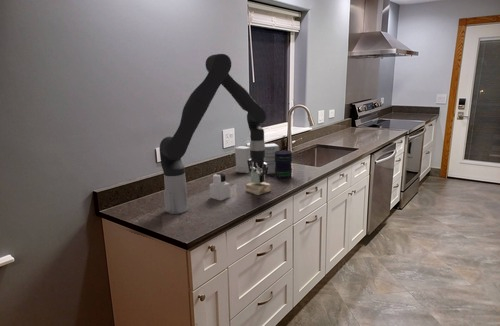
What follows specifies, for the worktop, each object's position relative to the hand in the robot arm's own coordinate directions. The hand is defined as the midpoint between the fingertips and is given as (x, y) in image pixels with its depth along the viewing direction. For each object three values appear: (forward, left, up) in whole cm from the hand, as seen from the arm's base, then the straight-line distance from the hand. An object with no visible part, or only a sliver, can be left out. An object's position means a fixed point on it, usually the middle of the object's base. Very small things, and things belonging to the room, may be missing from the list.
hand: (258, 180), depth 181 cm
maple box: (0, 0, -6) cm, 6 cm away
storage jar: (+27, +8, -6) cm, 29 cm away
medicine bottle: (-20, +6, -6) cm, 22 cm away
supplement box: (+30, +22, -6) cm, 38 cm away
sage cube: (0, 0, 0) cm, 0 cm away
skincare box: (+19, +34, -6) cm, 39 cm away
